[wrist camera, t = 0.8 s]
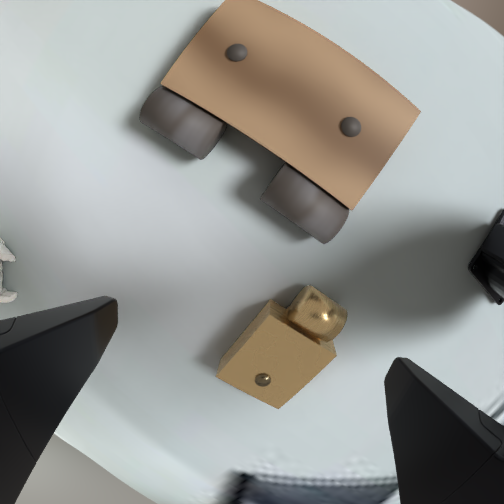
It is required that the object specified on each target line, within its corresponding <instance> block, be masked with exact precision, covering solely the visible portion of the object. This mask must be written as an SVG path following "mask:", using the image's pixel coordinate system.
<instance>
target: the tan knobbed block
mask: <svg viewBox="0 0 504 504" xmlns="http://www.w3.org/2000/svg"><path fill="white" fill-rule="evenodd" d="M346 320H347V310H346V309H345V308H343V307H342V306H340V305H339V304H337V303H336V302H334V301H333V300H332V299H330V298H329V297H327V296H326V295H324V294H323V293H321V292H320V291H318V290H317V289H315V288H314V287H313V286H311V285H308V286H306V287H304V288H303V289H302V290H301V291H300V292H299V294H298V295H297V296H296V297H295V299H294V300H293V302H292V304H291V305H290V306H289V307H288V308H287V309H285V308H284V307H282V306H281V305H279V304H277V303H276V302H274V301H273V300H271V299H270V300H269V301H268V303H267V304H266V305H265V306H264V308H263V309H262V310H261V311H260V312H259V314H258V315H257V316H256V317H255V319H254V320H253V321H252V322H251V323H250V325H249V326H248V327H247V328H246V330H245V331H244V332H243V333H242V334H241V336H240V337H239V338H238V339H237V340H236V342H235V343H234V344H233V345H232V346H231V347H230V349H229V350H228V351H227V352H226V353H225V355H224V356H223V357H222V358H221V359H220V363H219V367H218V370H217V374H216V377H217V378H219V379H221V380H223V381H225V382H226V383H228V384H230V385H232V386H234V387H236V388H238V389H239V390H241V391H243V392H245V393H247V394H249V395H251V396H253V397H255V398H257V399H259V400H261V401H263V402H265V403H267V404H269V405H271V406H273V407H275V408H277V409H279V408H280V407H281V406H283V405H284V404H285V403H286V402H287V401H288V400H290V399H291V398H292V397H293V396H294V395H295V394H296V393H298V392H299V391H300V390H301V389H302V388H303V387H304V386H305V385H306V384H307V383H309V382H310V381H311V380H312V379H313V378H314V377H315V376H316V375H317V374H318V373H319V372H320V371H321V370H322V369H323V368H324V367H325V366H326V365H328V364H329V363H330V362H331V361H332V360H333V359H334V358H335V357H336V356H337V355H336V351H335V347H334V344H333V339H334V338H335V337H336V336H337V335H338V334H339V333H340V331H341V330H342V328H343V327H344V325H345V322H346Z"/></svg>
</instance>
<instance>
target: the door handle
mask: <svg viewBox="0 0 504 504" xmlns="http://www.w3.org/2000/svg"><path fill="white" fill-rule="evenodd" d="M0 259H1V260H2V261H6V260H8V261H10V262H12V261H14V262H15V261H16V257H15V256H14V255H13V254H12V253H11V252H10V251H9V249H8V248H7V247H6V246H5V245H4V241H3V240H2V239H1V238H0ZM1 260H0V303H1V302H3V303H8V302H11V301H13V300H14V299H15V298H16V297H17V292H11V291H7V289H5V288H4V287H2V281H3V272H2V271H1V270H2V268H3V267H2V261H1Z"/></svg>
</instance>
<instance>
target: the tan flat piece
mask: <svg viewBox="0 0 504 504" xmlns="http://www.w3.org/2000/svg"><path fill="white" fill-rule="evenodd" d="M160 84H162V85H163V86H162V87H159V88H157V89H156V90H155V91H154V92H153V93H152V94H151V95H150V96H149V97H148V98H147V100H146V101H145V103H144V105H143V107H142V109H141V112H140V121H141V123H143V124H145V125H146V126H148V127H150V128H151V129H153V130H155V131H156V132H158V133H159V134H161V135H163V136H164V137H166V138H167V139H169V140H171V141H172V142H174V143H175V144H177V145H179V146H180V147H182V148H183V149H185V150H186V151H188V152H190V153H191V154H193V155H194V156H196V157H197V158H199V159H200V160H202V159H204V158H205V157H206V156H207V155H208V154H209V153H210V152H211V150H212V149H213V148H214V147H215V145H216V144H217V142H218V141H219V139H220V138H221V136H222V134H223V132H224V130H225V128H226V125H227V124H229V125H231V126H232V127H234V128H235V129H237V130H239V131H240V132H242V133H243V134H245V135H246V136H248V137H249V138H251V139H252V140H254V141H255V142H257V143H259V144H260V145H262V146H263V147H265V148H266V149H267V150H269V151H270V152H272V153H273V154H275V155H276V156H278V157H279V158H281V159H282V160H284V161H285V162H286V163H285V164H284V165H283V166H282V168H281V169H280V170H279V172H278V173H277V174H276V176H275V177H274V178H273V180H272V181H271V183H270V184H269V186H268V187H267V189H266V190H265V192H264V193H263V195H262V196H261V198H260V200H262V201H263V202H265V203H266V204H268V205H269V206H270V207H272V208H273V209H275V210H276V211H278V212H279V213H281V214H282V215H283V216H285V217H286V218H288V219H289V220H290V221H292V222H293V223H295V224H296V225H297V226H299V227H300V228H302V229H303V230H304V231H306V232H307V233H309V234H310V235H311V236H313V237H314V238H316V239H317V240H318V241H320V242H321V243H322V244H325V243H327V242H329V241H330V240H331V239H333V238H334V237H335V235H336V234H337V233H338V232H339V231H340V229H341V228H342V226H343V225H344V223H345V221H346V219H347V217H348V214H349V209H350V210H353V209H354V207H355V206H356V205H357V203H358V202H359V201H360V199H361V198H362V196H363V195H364V194H365V192H366V191H367V190H368V188H369V187H370V185H371V184H372V183H373V181H374V180H375V178H376V177H377V176H378V174H379V173H380V171H381V170H382V168H383V167H384V166H385V164H386V163H387V161H388V160H389V158H390V157H391V156H392V154H393V153H394V151H395V150H396V148H397V147H398V145H399V144H400V142H401V141H402V140H403V138H404V137H405V135H406V134H407V132H408V131H409V129H410V128H411V126H412V125H413V123H414V122H415V120H416V119H417V117H418V115H419V114H420V112H421V111H420V110H419V109H418V108H417V107H416V106H415V105H413V104H412V103H411V102H410V101H409V100H408V99H407V98H406V97H404V96H403V95H402V94H401V93H400V92H399V91H398V90H396V89H395V88H394V87H393V86H392V85H390V84H389V83H388V82H387V81H386V80H384V79H383V78H382V77H381V76H379V75H378V74H377V73H375V72H374V71H373V70H372V69H370V68H369V67H368V66H366V65H365V64H364V63H362V62H361V61H360V60H358V59H357V58H355V57H354V56H353V55H351V54H350V53H348V52H347V51H345V50H344V49H342V48H341V47H340V46H338V45H337V44H335V43H333V42H332V41H330V40H329V39H327V38H326V37H324V36H323V35H321V34H319V33H318V32H316V31H314V30H313V29H311V28H309V27H308V26H306V25H304V24H302V23H301V22H299V21H297V20H295V19H294V18H292V17H290V16H288V15H286V14H284V13H282V12H280V11H278V10H277V9H275V8H273V7H271V6H269V5H266V4H264V3H262V2H260V1H258V0H225V1H224V2H223V3H222V4H221V6H220V7H219V8H218V9H217V10H216V11H215V12H214V14H213V15H212V16H211V17H210V18H209V19H208V21H207V22H206V23H205V24H204V25H203V27H202V28H201V29H200V30H199V31H198V33H197V34H196V35H195V36H194V38H193V39H192V40H191V42H190V43H189V44H188V45H187V47H186V48H185V49H184V51H183V52H182V53H181V55H180V56H179V57H178V59H177V60H176V62H175V63H174V64H173V66H172V67H171V69H170V70H169V71H168V73H167V74H166V76H165V77H164V79H163V80H162V82H161V83H160Z"/></svg>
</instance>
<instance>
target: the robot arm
mask: <svg viewBox="0 0 504 504" xmlns="http://www.w3.org/2000/svg"><path fill="white" fill-rule="evenodd" d="M474 266H475V267H474ZM473 267H474V269H473ZM468 269H469V271H470V273H471V274H472V275H473V276H474V277H475V278H476V279H477V281H478V282H479V283H480V284H481V285H482V287H483V288H484V289H485V290H486V291H487V293H488V294H489V295H490V296H491V298H492V299H493V300H494V301H495V303H497V304H498V305H501V304H502V303H503V302H504V210H503V212H502V214H501V215H500V217H499V219H498V220H497V222H496V224H495V225H494V227H493V229H492V230H491V232H490V234H489V235H488V237H487V238H486V240H485V241H484V243H483V245H482V246H481V248H480V249H479V251H478V252H477V254H476V255H475V257H474V258H473V259H472V261H471V262H470V264H469V267H468ZM499 299H500V300H499ZM117 324H118V304H117V300H116V299H114V298H111V297H108V296H102V297H98V298H94V299H90V300H86V301H81V302H77V303H73V304H69V305H65V306H60V307H56V308H52V309H48V310H43V311H39V312H35V313H31V314H26V315H22V316H18V317H17V318H16V317H13V318H9V319H4V320H0V504H15V502H16V500H17V498H18V496H19V494H20V492H21V490H22V488H23V487H24V484H25V483H26V481H27V479H28V477H29V475H30V474H31V472H32V470H33V468H34V466H35V465H36V462H37V461H38V459H39V457H40V455H41V454H42V452H43V450H44V449H45V447H46V445H47V443H48V442H49V440H50V438H51V437H52V435H53V433H54V432H55V430H56V428H57V427H58V425H59V423H60V422H61V420H62V419H63V417H64V415H65V414H66V412H67V410H68V409H69V407H70V406H71V404H72V403H73V401H74V399H75V398H76V396H77V395H78V393H79V392H80V390H81V388H82V387H83V385H84V384H85V382H86V381H87V379H88V378H89V376H90V375H91V373H92V372H93V370H94V369H95V367H96V366H97V364H98V362H99V361H100V359H101V357H102V355H103V353H104V351H105V349H106V347H107V345H108V343H109V341H110V339H111V338H112V336H113V334H114V332H115V330H116V328H117ZM384 385H385V395H386V406H387V417H388V424H389V430H390V435H391V441H392V447H393V453H394V459H395V465H396V472H397V479H398V487H399V495H400V503H401V504H504V426H503V425H501V424H500V423H498V422H497V421H495V420H494V419H492V418H491V417H489V416H488V415H487V414H485V413H484V412H482V411H481V410H478V408H477V407H475V406H474V405H473V404H471V403H470V402H468V401H467V400H466V399H464V398H463V397H461V396H460V395H459V394H457V393H456V392H454V391H453V390H452V389H450V388H449V387H447V386H446V385H445V384H443V383H442V382H440V381H439V380H438V379H436V378H435V377H433V376H432V375H431V374H429V373H428V372H426V371H425V370H424V369H422V368H421V367H419V366H418V365H417V364H415V363H414V362H412V361H411V360H410V359H408V358H402V357H397V358H396V359H395V360H394V361H393V363H392V365H391V367H390V369H389V371H388V373H387V375H386V377H385V380H384Z"/></svg>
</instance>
